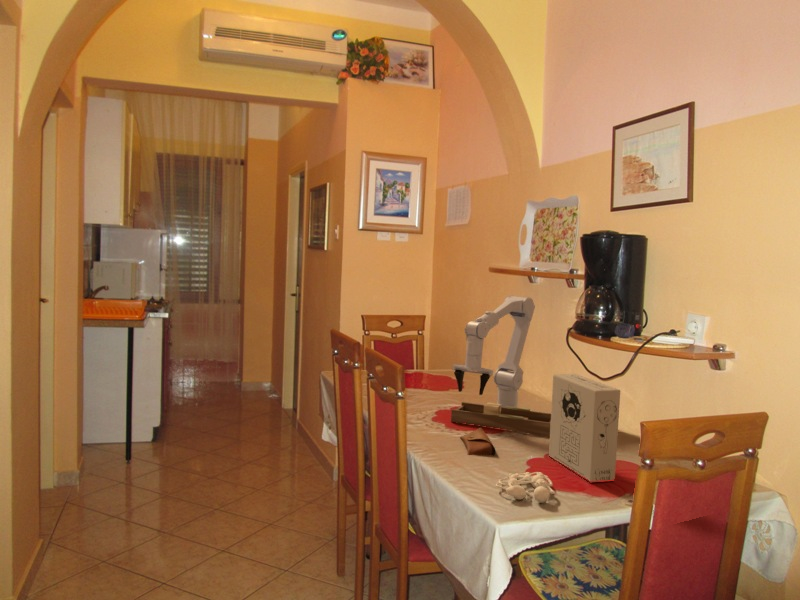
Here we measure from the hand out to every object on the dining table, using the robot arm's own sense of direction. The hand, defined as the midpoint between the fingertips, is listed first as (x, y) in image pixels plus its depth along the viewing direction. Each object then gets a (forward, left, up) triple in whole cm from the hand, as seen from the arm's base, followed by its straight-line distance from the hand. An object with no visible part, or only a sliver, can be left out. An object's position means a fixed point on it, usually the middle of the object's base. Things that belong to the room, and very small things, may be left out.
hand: (470, 392), depth 219 cm
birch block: (0, +8, -7) cm, 11 cm away
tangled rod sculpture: (+56, +31, -10) cm, 65 cm away
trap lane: (0, +12, -10) cm, 16 cm away
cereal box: (+33, +42, -10) cm, 55 cm away
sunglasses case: (+27, +10, -11) cm, 31 cm away
